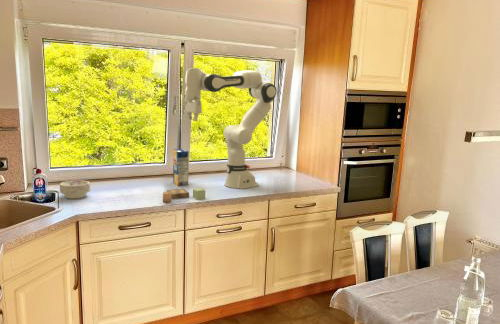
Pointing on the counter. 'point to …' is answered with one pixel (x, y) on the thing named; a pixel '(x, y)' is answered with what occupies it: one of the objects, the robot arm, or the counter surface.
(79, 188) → the paper bowls
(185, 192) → the walnut plinth
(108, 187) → the counter surface
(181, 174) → the beverage box
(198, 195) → the green block
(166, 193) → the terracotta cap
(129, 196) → the counter surface
